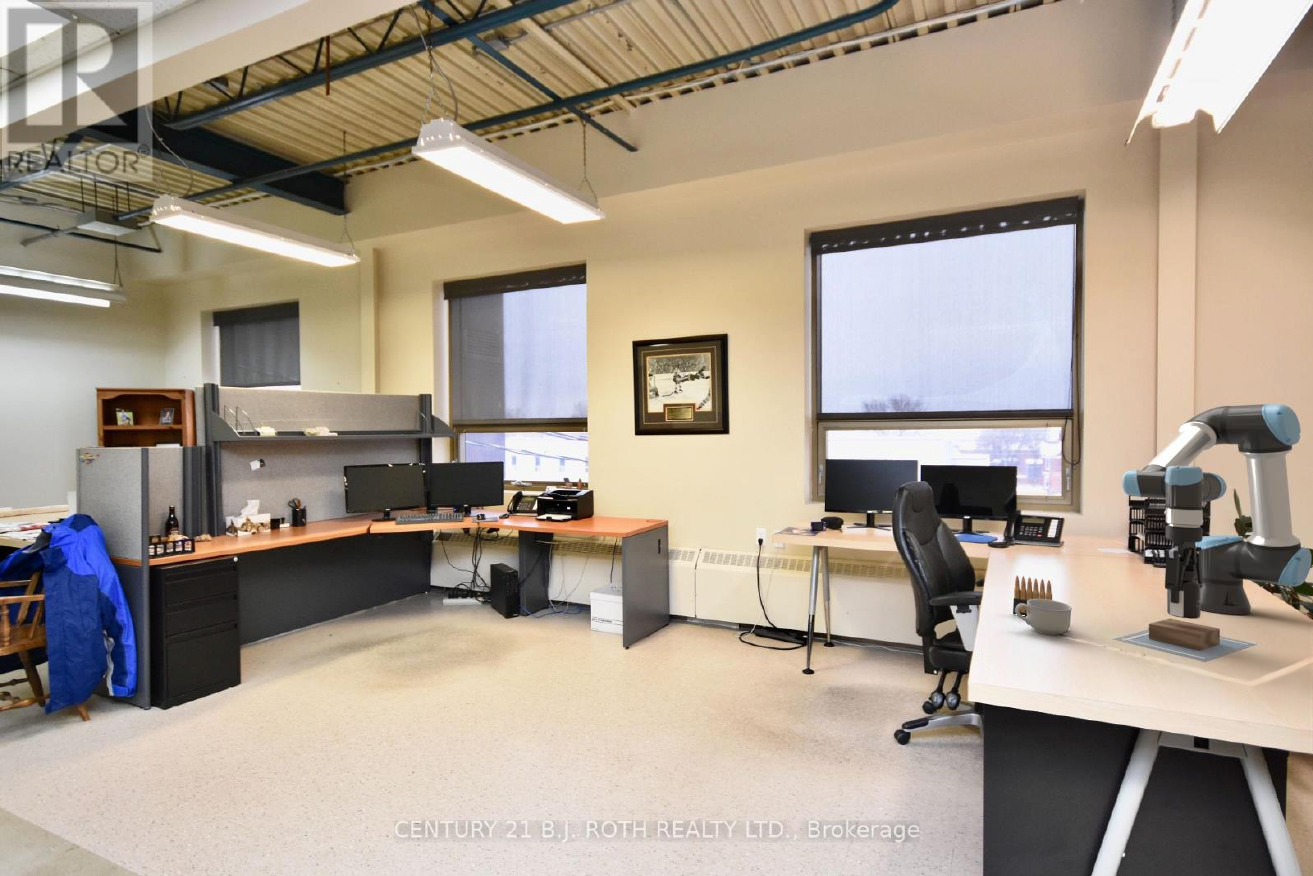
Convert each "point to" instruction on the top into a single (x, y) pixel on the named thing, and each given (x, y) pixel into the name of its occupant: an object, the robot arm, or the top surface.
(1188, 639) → the walnut plinth
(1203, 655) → the board
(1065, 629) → the teacup
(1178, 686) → the top surface
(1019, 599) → the ammunition clip
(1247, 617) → the top surface
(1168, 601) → the supplement bottle
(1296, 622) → the top surface
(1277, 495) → the robot arm
